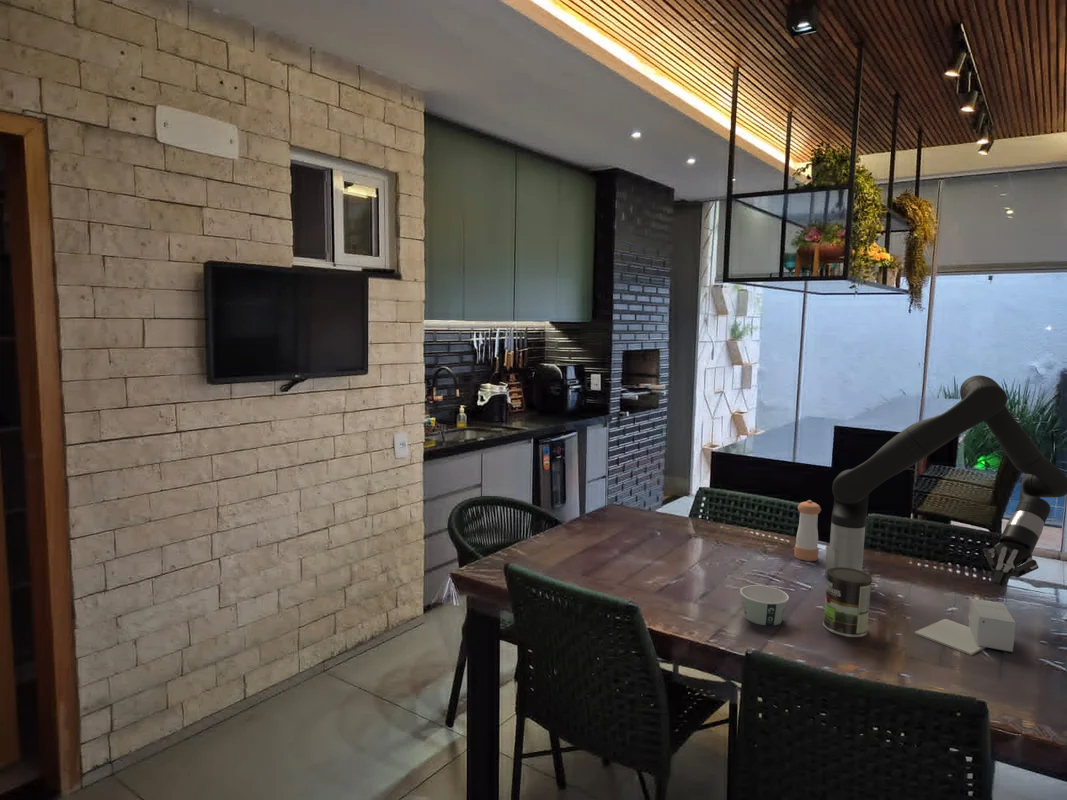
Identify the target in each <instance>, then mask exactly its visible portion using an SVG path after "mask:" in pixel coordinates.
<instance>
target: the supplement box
mask: <svg viewBox="0 0 1067 800" xmlns="http://www.w3.org/2000/svg"><path fill="white" fill-rule="evenodd" d="M969 607H970V609H969V617H968V618H969V619H968V627H970V629H971V632H972V634H973V636H974V638H975V641H976V643H977V645H978V646H982V647H986V648H987V649H988V648H989V649H994V650H998V651H999V650H1000V651H1004V652H1011V653H1013V652H1014V645H1015V636H1016V627H1017V623H1016V620H1015V619H1014V617H1013V616H1012V614H1011V613H1010V611H1009V610H1008V608H1007V606H1006V604H1005V603H1002V602H995V601H989V600H988V601H987V600H984V599H983V600H982V599H975V598H971V599H970V606H969Z"/></svg>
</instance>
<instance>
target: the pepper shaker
mask: <svg viewBox="0 0 1067 800" xmlns="http://www.w3.org/2000/svg"><path fill="white" fill-rule="evenodd" d="M797 509H798V510H797V511H798V512H799V522H798V527H797V533H796V537H795V538H796V540H795V545H794V552H793V553H794V554H793V556H794V558H796V559H797V560H802V561H805V562H806V561H807V562H815V561H817V560H818V559H819V547H818V545H819V530H818V522H819V521H818V517H819V514H820V513H821V512H822V508H821V505H819V504H817V503H816V502H814V501H812V500H811V499H808V500H806V501H802V502H800V503H799V504H798V505H797Z"/></svg>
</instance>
